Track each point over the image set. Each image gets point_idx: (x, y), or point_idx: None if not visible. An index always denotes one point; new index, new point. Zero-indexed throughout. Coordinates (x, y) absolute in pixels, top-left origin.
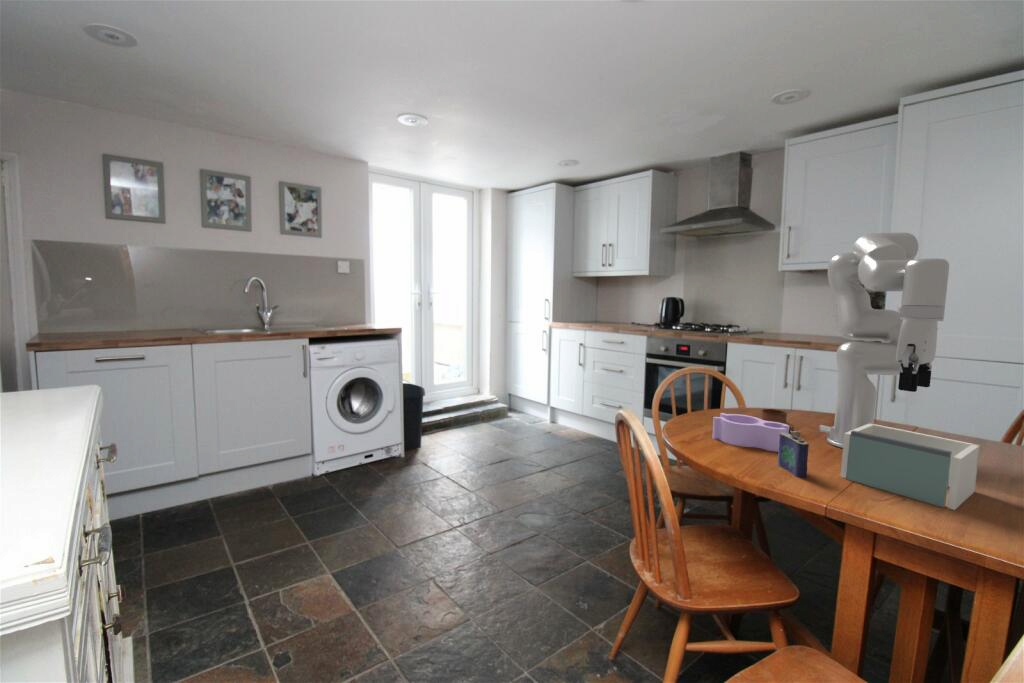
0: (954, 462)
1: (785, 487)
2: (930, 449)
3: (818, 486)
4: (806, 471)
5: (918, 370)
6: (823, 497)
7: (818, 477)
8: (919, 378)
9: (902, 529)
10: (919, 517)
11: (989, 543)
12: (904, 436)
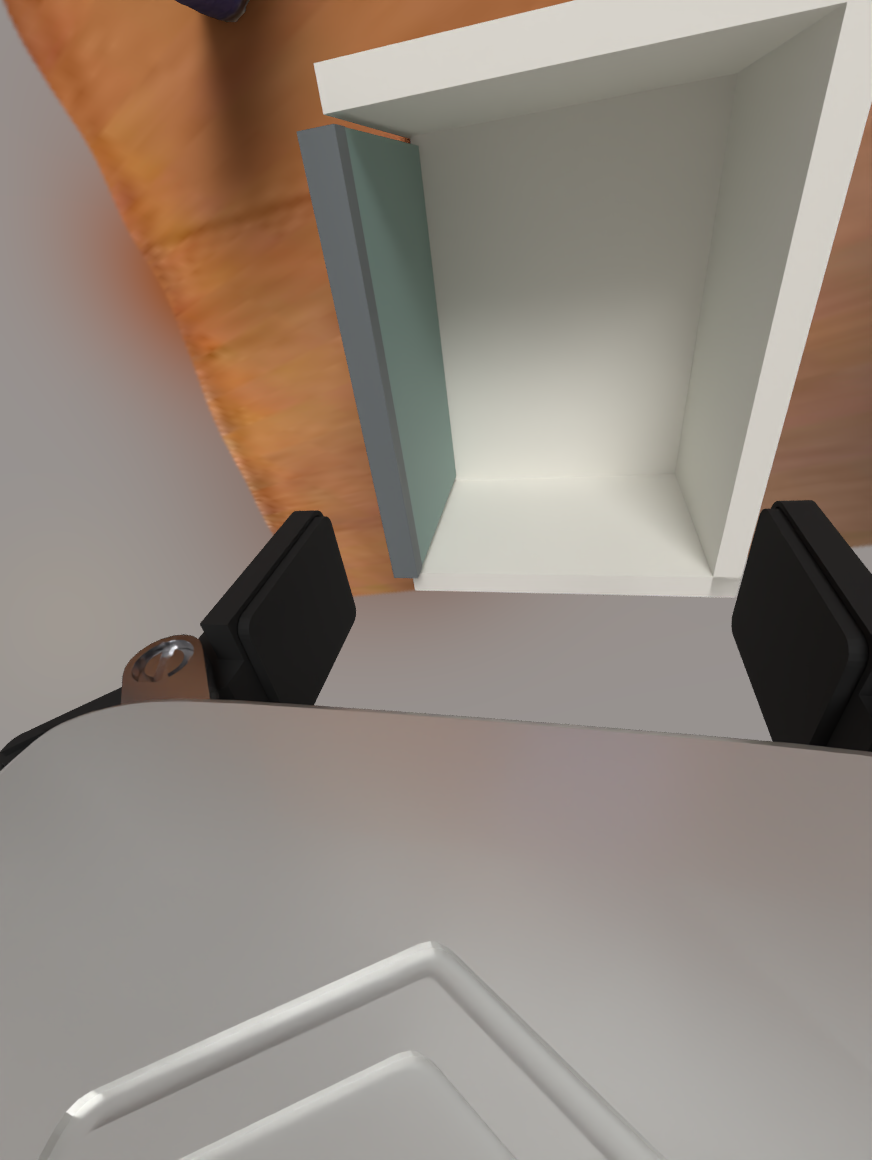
0: None
1: (92, 20)
2: (384, 524)
3: (248, 102)
4: (198, 7)
5: (830, 691)
6: (181, 199)
7: (346, 4)
8: (776, 619)
9: (230, 448)
10: (341, 446)
11: (349, 565)
12: (767, 282)
